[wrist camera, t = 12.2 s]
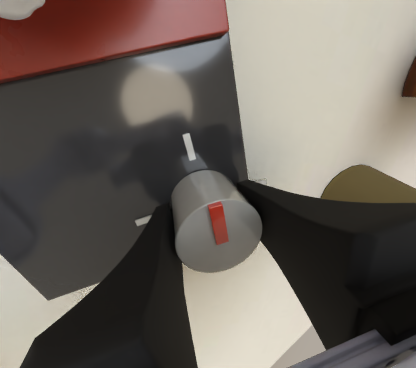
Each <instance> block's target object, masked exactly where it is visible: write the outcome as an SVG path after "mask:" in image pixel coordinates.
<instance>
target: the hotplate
mask: <svg viewBox="0 0 416 368" xmlns="http://www.w3.org/2000/svg"><path fill="white" fill-rule="evenodd" d="M228 31H229V25H228V18H227V10H226V2H225V0H45V3H44V5H43V6H42V7H39V8H37V9H36V10H34V12H33V13H32V14H31V16H30V17H28V18H25V19H21V20H10V19H5V18H1V17H0V83H5V82H10V81H14V80H19V79H23V78H28V77H33V76H37V75H42V74H47V73H51V72H56V71H61V70H65V69H70V68H74V67H79V66H84V65H88V64H93V63H98V62H102V61H107V60H111V59H116V58H121V57H125V56H130V55H135V54H139V53H144V52H149V51H153V50H158V49H162V48H167V47H172V46H176V45H181V44H186V43H190V42H195V41H199V40H204V39H209V38H213V37H218V36H223V35H225V34H226V33H227V32H228Z"/></svg>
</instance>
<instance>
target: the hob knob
mask: <svg viewBox="0 0 416 368" xmlns="http://www.w3.org/2000/svg"><path fill="white" fill-rule="evenodd" d="M170 208H171V216H172V225H173V234H174V243H175V250H176V253H177V255H178V257H179V259H180V260H181V261H182V262H183V263H184V264H185V265H186V266H187V267H189V268H191V269H193V270H195V271H199V272H205V273H214V272H220V271H224V270H227V269H230V268H232V267H234V266H236V265H238V264H240V263H241V262H243V261H244V260H245V259H246V258H248V257H249V256H250V255H251V254H252V252H253V251H254V250H255V249H256V247H257V245H258V243H259V241H260V239H261V235H262V221H261V218H260V215H259V213H258V212H257V211H256V209H255V208H254V207H253V206H252V205H251V204H250V202H249V201H248V200H247V199H246V198H245V197H244V196H243V194H242V193H241V192H240V191H239V190H238V189H237V188H236V186H235V185H234V184H233V183H232V182H231V181H230V180H229V179H228V178H227V177H226V176H225V175H223V174H221V173H219V172H217V171H212V170H202V171H197V172H194V173H191V174H189V175H188V176H186V177H184V178H183V179H182V180H181V181H180V182H179V183H178V184H177V185H176V187H175V188H174V190H173V192H172V195H171V199H170Z"/></svg>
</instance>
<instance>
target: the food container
mask: <svg viewBox="0 0 416 368" xmlns="http://www.w3.org/2000/svg"><path fill="white" fill-rule="evenodd" d="M402 97H416V58H415V59H414V62H413V64H412V66H411V68H410V71H409V73H408V76H407V79H406V82H405V85H404V89H403V93H402Z"/></svg>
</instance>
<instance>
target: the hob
mask: <svg viewBox="0 0 416 368" xmlns="http://www.w3.org/2000/svg"><path fill="white" fill-rule="evenodd" d="M202 170H212V171H217V172H219V173H221V174H223V175H225V176H226V177H227V178H228V179H229V180H230V181H231V182H232V183H233V184H234V185H235V186H236V188H237V189H238V186H237V182H240V181H244V180H248V174H247V167H246V159H245V152H244V144H243V137H242V129H241V122H240V114H239V106H238V99H237V91H236V84H235V76H234V69H233V61H232V54H231V46H230V39H229V31H228V32H227V33H226V34H225V35H223V36H218V37H213V38H209V39H204V40H199V41H195V42H190V43H186V44H181V45H176V46H172V47H167V48H162V49H158V50H153V51H149V52H144V53H139V54H135V55H130V56H125V57H121V58H116V59H111V60H107V61H102V62H98V63H93V64H88V65H84V66H79V67H74V68H70V69H65V70H61V71H56V72H51V73H47V74H42V75H37V76H33V77H28V78H23V79H19V80H14V81H10V82H5V83H0V254H1V255H2V256H3V257H4V258H5V259H6V260H7V261H8V262H9V263H10V264H11V265H12V266H13V267H14V268H15V269H16V270H17V271H18V272H19V273H20V274H21V275H22V276H23V277H24V278H25V279H26V280H27V281H29V282H30V283H31V284H32V285H33V286H34V287H35V288H36V289H37V290H38V291H39V292H40V293H41V294H42V295H43V296H44V297H45V298H46V299H47V300H51V299H54V298H57V297H60V296H63V295H65V294H68V293H71V292H74V291H77V290H80V289H83V288H85V287H88V286H91V285H94V284H97V283H100V282H101V281H102V280H103V279H104V278H105V277H106V276H107V275H108V274H109V273H110V272H111V271H112V270H113V269H114V268H115V267H116V266H117V264H118V263H119V262H120V261H121V260H122V259H123V257H124V256H125V255H126V254H127V253H128V251H129V250H130V249H131V247H132V246H133V245H134V243H135V242H136V240H137V239H138V237H139V236H140V234H141V233H142V231H143V230H144V228H145V226H146V225H147V223H148V221H149V219H150V217H151V216H152V214H153V212H154V210H155V208H156V207H157V206H160V205H163V204H167V203H168V206H169V209H170V211H171V208H170V199H171V195H172V192H173V190H174V188H175V187H176V185H177V184H178V183H179V182H180V181H181V180H182V179H183V178H184V177H186V176H188V175H189V174H191V173H194V172H197V171H202ZM255 182H257V183H260V184H263V185H266V184H267V179H266V178H265V179H262V180H259V181H255Z"/></svg>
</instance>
